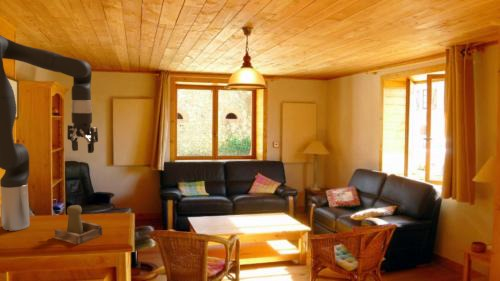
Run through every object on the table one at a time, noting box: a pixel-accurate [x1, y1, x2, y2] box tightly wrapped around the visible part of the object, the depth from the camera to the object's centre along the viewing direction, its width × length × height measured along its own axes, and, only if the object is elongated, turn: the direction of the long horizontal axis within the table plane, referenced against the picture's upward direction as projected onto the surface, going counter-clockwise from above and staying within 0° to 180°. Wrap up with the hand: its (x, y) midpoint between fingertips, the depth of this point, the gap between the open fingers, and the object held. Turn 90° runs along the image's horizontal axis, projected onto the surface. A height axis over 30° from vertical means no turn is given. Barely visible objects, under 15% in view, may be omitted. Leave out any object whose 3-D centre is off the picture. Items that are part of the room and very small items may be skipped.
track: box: [53, 220, 103, 246], centre depth 153 cm, size 13×11×4 cm
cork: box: [66, 204, 84, 234], centre depth 154 cm, size 6×6×11 cm
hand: (82, 151), depth 163 cm, fingers open, 8 cm apart
